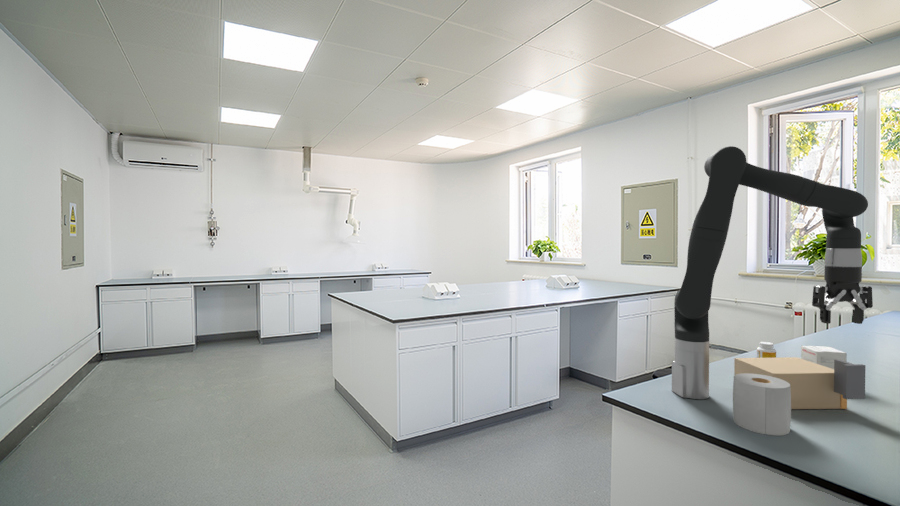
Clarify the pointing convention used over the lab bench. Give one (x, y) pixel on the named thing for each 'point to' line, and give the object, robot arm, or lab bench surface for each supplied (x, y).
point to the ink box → (822, 355)
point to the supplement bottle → (766, 350)
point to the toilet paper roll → (762, 404)
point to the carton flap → (826, 386)
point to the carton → (777, 366)
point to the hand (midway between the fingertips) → (841, 323)
